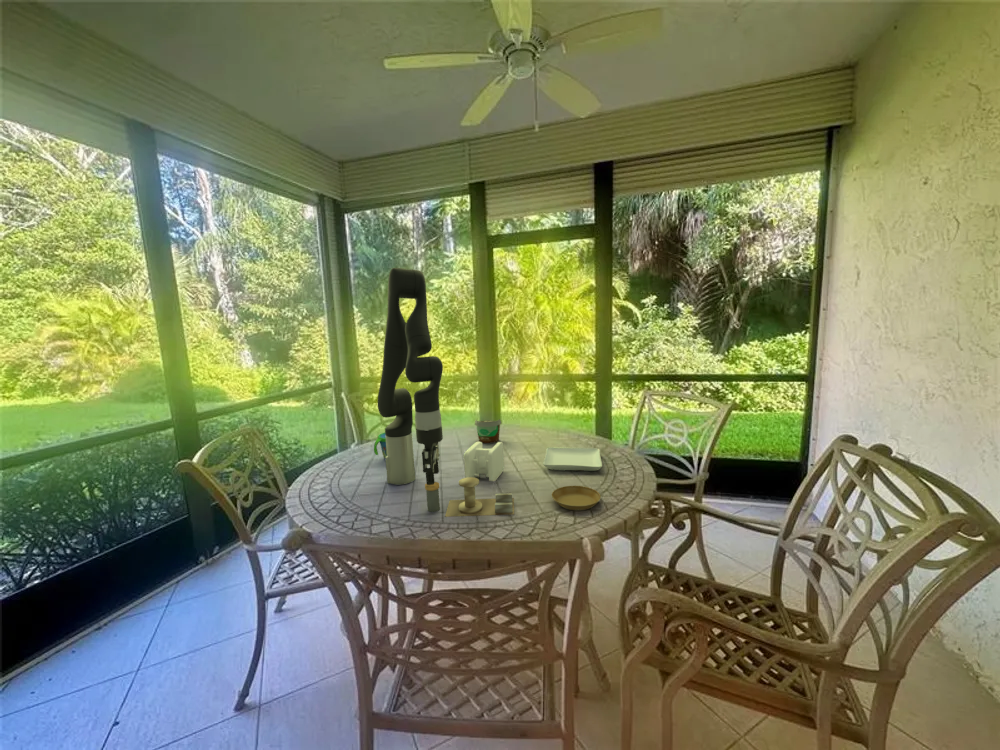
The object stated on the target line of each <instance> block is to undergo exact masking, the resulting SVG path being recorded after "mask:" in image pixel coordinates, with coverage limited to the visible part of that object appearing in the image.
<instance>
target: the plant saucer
mask: <svg viewBox="0 0 1000 750" xmlns="http://www.w3.org/2000/svg"><path fill="white" fill-rule="evenodd" d="M551 498H552V499H553V500H554V502H555V503H556V504H558V505H559V506H560V507H562V508H564V509H566V510H569V511H576V512H577V511H585V510H589V509H591V508H593V507H595V505H597V504H598V503H599V502H600V500H601V494H600V493H599V492H598V491H597V490H596V489H594V488H592V487H588V486H583V485H566V486H561V487H557V488H556V489H554V490H553V491H552V492H551Z"/></svg>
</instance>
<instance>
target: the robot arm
mask: <svg viewBox="0 0 1000 750" xmlns="http://www.w3.org/2000/svg"><path fill="white" fill-rule="evenodd" d="M388 273H389V274H388V280H387V309H386V310H387V311H386V312H387V314H386V316H387V318H386V324H385V325H386V326H385V334H384V341H383V342H384V344H383V360H382V361H383V363H382V371H381V378H380V385H379V389H378V395H377V408H378V409H377V410H378V412H379V414H380V416H381V417H383V418H392V417H393V418H394V417H395V418H394V420H392V421H391V422H390V423H389V424H387V425H386V427H385V428H384V433H385V437H386V448H387V457H386V460H385V468H386V470H385V471H386V479H387V484H392V485H398V486H399V485H406V484H410V483H412V482H413V481H415V480H416V469H415V458H414V456H415V455H414V444H413V442H414V441H413V431H412V429H413V424H415V434H416V435H415V437H416V442H417V443H418V444H420V445H423V446H424V448H423V449H422V451H421V456H422V458H421V460H422V472H423V474H424V473H425V479H426V481H425V482H426V483H427V485H433V484H434V483H435V482H436V481H435V475H437V474H439V473H440V469H439V460H440V458H439V457H440V446H439V443H441V442H442V441H443V439H444V436H443V425H442V424H443V423H442V413H441V409H440V385H441V380H442V375H443V371H444V367H443V361H441V359H440V358H439V357H438V356H436V355H435V356H433V355H432V356H430V355H429V356H424V355H427V354H428V353H430V352H431V350H432V348H433V347H432V346H433V345H432V343H433V342H432V338H431V335H430V329H429V323H428V322H429V321H428V304H427V303H428V302H427V285H426V278H425V275H424V273H423V272H422V270H418V269H414V268H413V269H410V268H401V267H392V268H391V269H390V271H389V272H388ZM400 299H408V300H410V299H411V300H415V304H414V308H413V310H412V311H411V313H410V315H409V317H408V318H407V321H406V320H405V319H404V317H403V314H402V311H401V307H400ZM403 372H404V373H405V377H406V378H407V380H408V381H409V382H410V383H425V382H430V383H429V384H428V385H427V387H425V388H422V389H419V390H416V391H415V392H414V394H413V399H412V395H411V393H410V392H409V390H408V389H407V388H404V387H403V388H396V387H397V386H396V385H397V382H398V380H399V378H400V377H401V375H402V374H403ZM413 402H414V403H413ZM413 404H414V421H413ZM413 422H415V423H413ZM428 465H429V467H428ZM426 483H425V484H426Z"/></svg>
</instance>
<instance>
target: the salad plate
mask: <svg viewBox="0 0 1000 750" xmlns="http://www.w3.org/2000/svg"><path fill="white" fill-rule="evenodd" d="M542 465H543V467H545V468H547V469H549V470H553V469H554V471H565V470H584V471H583V472H593V471H595V472H596V471H598V470H601V468H603V462H602V458H601V449H600V448H597V447H596V448H595V447H567V446H566V447H565V446H564V447H559V446H558V447H554V446H552V447H551V446H550V447H547V448H546V449H545V456H544V459H543V463H542Z"/></svg>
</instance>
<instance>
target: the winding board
mask: <svg viewBox="0 0 1000 750" xmlns="http://www.w3.org/2000/svg"><path fill="white" fill-rule="evenodd" d="M475 501H479V502H481V503H482V509H481V510H480V511H478V512H476V513H462V512H460V511H459V504H461V503H462V502H465V499H449V502H448V505H447V509H446V511H445V514H444V517H445V518H447V517H449V518H451V517H454V518H455V517H475V516H476V517H479V516H481V517H482V516H503V515H504V516H508V515H510V516H511V515H515V498H514V497H513V493H512V492H511V493H509V492H508V493H495V498H475Z"/></svg>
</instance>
